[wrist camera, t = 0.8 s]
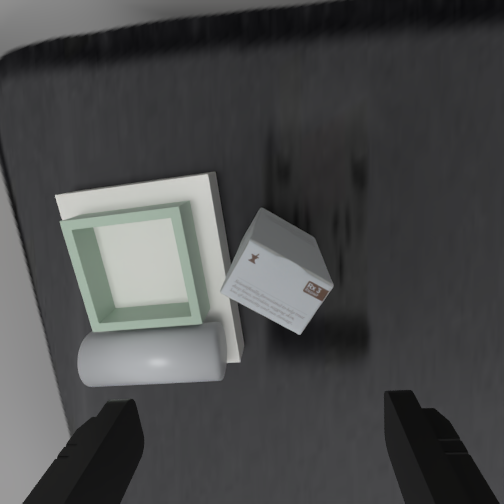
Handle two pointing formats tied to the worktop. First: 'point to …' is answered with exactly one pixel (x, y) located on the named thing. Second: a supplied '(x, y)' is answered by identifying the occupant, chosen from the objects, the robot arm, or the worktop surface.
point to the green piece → (96, 282)
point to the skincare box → (278, 272)
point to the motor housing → (159, 286)
